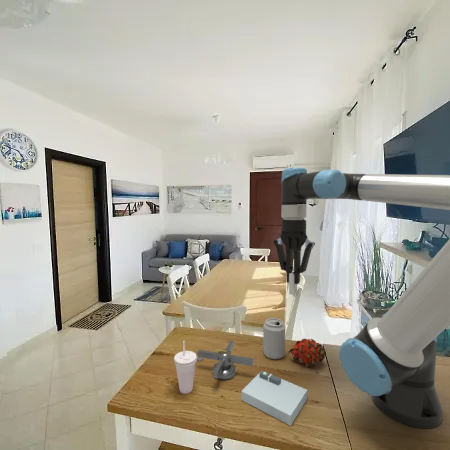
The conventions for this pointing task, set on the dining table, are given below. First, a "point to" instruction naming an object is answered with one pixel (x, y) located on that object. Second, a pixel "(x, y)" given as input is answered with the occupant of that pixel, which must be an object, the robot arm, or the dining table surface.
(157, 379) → the dining table surface
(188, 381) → the smoothie
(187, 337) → the dining table surface
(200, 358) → the tick mark
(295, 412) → the pale grey switch box
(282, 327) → the can
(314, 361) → the dragon fruit
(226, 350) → the capstan
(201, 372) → the dining table surface
